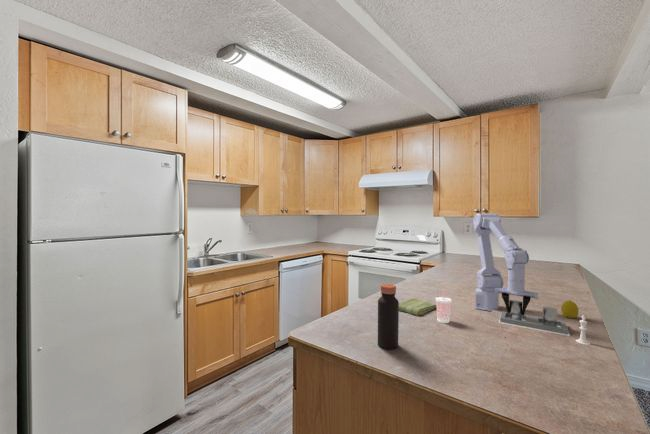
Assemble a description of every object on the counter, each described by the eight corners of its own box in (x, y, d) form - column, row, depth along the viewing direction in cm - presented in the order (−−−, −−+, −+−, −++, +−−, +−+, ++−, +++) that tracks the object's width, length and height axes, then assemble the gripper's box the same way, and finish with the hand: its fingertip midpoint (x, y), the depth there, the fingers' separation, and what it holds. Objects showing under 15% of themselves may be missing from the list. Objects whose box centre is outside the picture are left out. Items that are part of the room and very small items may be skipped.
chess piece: (588, 342, 102) (588, 313, 102) (595, 349, 98) (596, 318, 97) (570, 340, 104) (571, 312, 104) (577, 346, 99) (577, 317, 99)
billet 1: (508, 318, 120) (508, 301, 120) (510, 316, 123) (510, 299, 123) (521, 321, 117) (521, 303, 117) (522, 318, 120) (523, 301, 120)
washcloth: (438, 308, 139) (438, 301, 139) (419, 318, 127) (419, 310, 127) (413, 302, 148) (413, 295, 148) (393, 310, 136) (393, 303, 136)
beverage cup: (453, 320, 122) (454, 286, 122) (447, 324, 118) (448, 289, 118) (438, 317, 127) (439, 284, 126) (432, 320, 122) (433, 286, 122)
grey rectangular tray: (498, 325, 118) (498, 318, 118) (500, 315, 129) (500, 309, 128) (570, 338, 105) (570, 331, 105) (566, 327, 116) (566, 320, 116)
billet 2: (542, 327, 113) (543, 309, 113) (542, 323, 117) (542, 305, 117) (557, 330, 111) (557, 311, 111) (556, 326, 114) (556, 308, 114)
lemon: (581, 322, 121) (581, 302, 121) (565, 321, 122) (566, 301, 122) (573, 317, 127) (573, 298, 127) (558, 316, 128) (558, 298, 128)
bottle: (394, 351, 95) (394, 289, 95) (374, 346, 99) (374, 286, 98) (401, 343, 101) (401, 285, 100) (381, 339, 105) (382, 282, 104)
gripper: (494, 279, 120) (493, 312, 121) (538, 284, 112) (537, 320, 113) (496, 276, 126) (495, 308, 127) (538, 280, 118) (537, 314, 118)
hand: (515, 313), depth 120 cm, fingers closed on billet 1, 4 cm apart
